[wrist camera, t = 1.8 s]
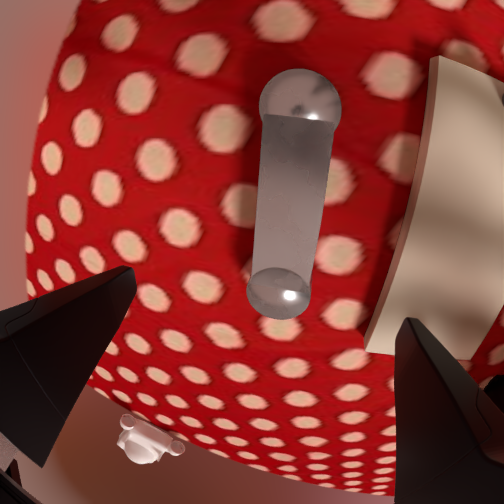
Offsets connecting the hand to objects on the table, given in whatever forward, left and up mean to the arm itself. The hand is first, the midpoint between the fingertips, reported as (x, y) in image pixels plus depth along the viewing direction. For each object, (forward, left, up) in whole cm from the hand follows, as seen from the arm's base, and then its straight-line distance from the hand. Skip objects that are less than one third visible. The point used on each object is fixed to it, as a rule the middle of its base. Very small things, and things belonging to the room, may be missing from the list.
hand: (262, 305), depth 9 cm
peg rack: (0, -12, -10) cm, 16 cm away
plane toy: (-44, +19, -11) cm, 49 cm away
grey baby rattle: (0, 0, -10) cm, 10 cm away
